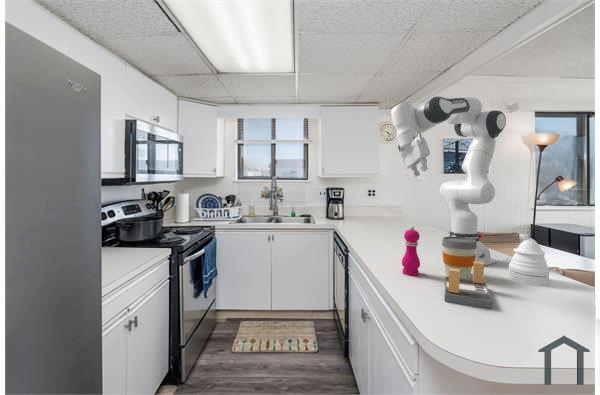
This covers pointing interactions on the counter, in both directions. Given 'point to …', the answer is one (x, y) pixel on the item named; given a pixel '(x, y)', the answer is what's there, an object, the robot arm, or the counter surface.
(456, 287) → the slider
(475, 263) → the slider
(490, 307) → the switch panel
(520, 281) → the honey pot
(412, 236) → the pepper mill
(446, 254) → the reusable coffee cup
